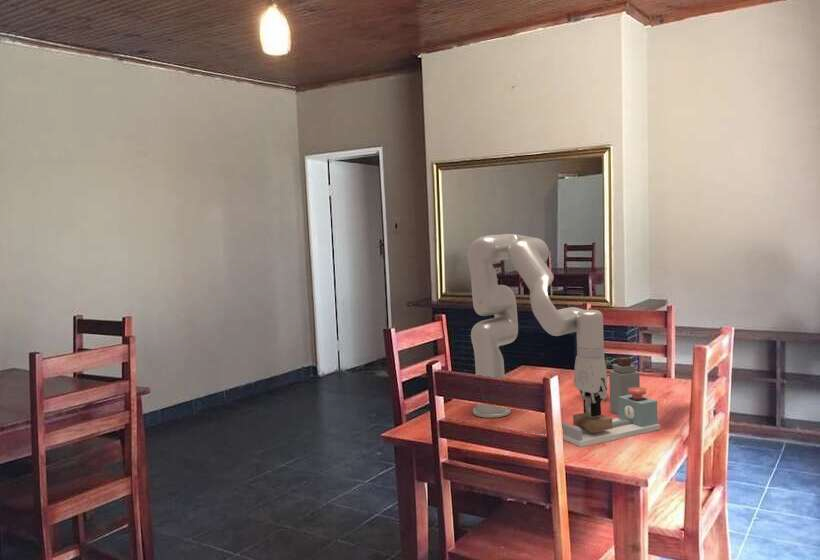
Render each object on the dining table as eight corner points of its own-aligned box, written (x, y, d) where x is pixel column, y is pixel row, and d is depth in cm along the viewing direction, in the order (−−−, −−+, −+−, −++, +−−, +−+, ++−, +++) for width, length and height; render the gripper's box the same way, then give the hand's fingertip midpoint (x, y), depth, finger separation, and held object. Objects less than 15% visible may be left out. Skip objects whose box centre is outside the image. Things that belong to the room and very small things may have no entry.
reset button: (624, 398, 207) (624, 388, 207) (637, 395, 209) (637, 386, 209) (636, 402, 202) (636, 392, 202) (650, 399, 205) (649, 389, 204)
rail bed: (555, 435, 202) (554, 420, 201) (631, 419, 213) (631, 405, 213) (581, 447, 191) (580, 431, 190) (660, 429, 202) (659, 414, 202)
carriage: (573, 424, 202) (572, 395, 202) (592, 420, 205) (591, 391, 204) (593, 432, 194) (592, 401, 193) (612, 428, 197) (611, 398, 196)
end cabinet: (617, 419, 210) (617, 396, 209) (633, 415, 212) (633, 393, 212) (640, 427, 201) (640, 404, 200) (657, 423, 203) (657, 400, 203)
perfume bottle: (621, 416, 217) (620, 361, 215) (610, 411, 223) (608, 357, 222) (640, 414, 219) (639, 359, 217) (628, 408, 225) (626, 355, 224)
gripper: (563, 349, 204) (565, 409, 205) (598, 358, 189) (600, 423, 190) (583, 346, 207) (585, 406, 208) (619, 355, 192) (621, 418, 193)
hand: (592, 413), depth 199 cm, fingers closed on carriage, 2 cm apart
